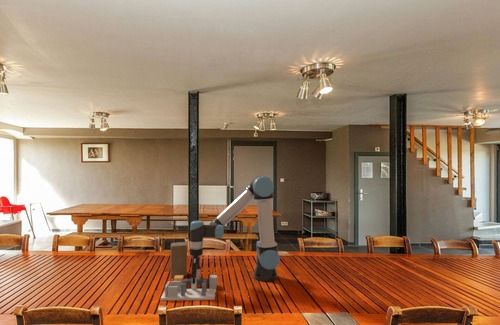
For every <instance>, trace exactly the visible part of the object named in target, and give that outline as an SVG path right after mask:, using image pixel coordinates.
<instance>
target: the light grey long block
mask: <svg viewBox="0 0 500 325" xmlns="http://www.w3.org/2000/svg"><path fill="white" fill-rule="evenodd" d="M207 287H208V286H207V280H203V283H202V285H201V288H196V289H191V288H188V285H187V280H183V284H181V281H174V280H172V281H170V280H169V281H167V282H166V284H165V286H164V291H163V293H162V295H161V297H160V301H206V300H207V301H210V300H211V301H212V300H214V301H215V300H216V294H215V293H217V288H207Z"/></svg>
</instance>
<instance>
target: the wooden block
mask: <svg viewBox="0 0 500 325" xmlns="http://www.w3.org/2000/svg"><path fill="white" fill-rule="evenodd" d="M187 273H188V245H187V242H186V241H181V242H179V241H178V242H172V243H170V277H171V278H174V277H175V275H184V277H186V276H187V275H188V274H187Z"/></svg>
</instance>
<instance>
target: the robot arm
mask: <svg viewBox="0 0 500 325" xmlns="http://www.w3.org/2000/svg"><path fill="white" fill-rule="evenodd" d="M274 188H275V184H274V182H273V180H272V179H271V178H270V177H268V176H266V175H257V176H256V177H254V179H252V181H251V182H250V183H249V184H248V185H247V186H246V187H245V190H244V191H243V192H242V193H241V194H240V195H239V196H238V197H237V198H236V199H235V200H234V201H232V202H231V203H230V204H229V205H228V206H227V207H226V208H225V209H224V210H223V211H221V213H219V215H217V217H215V218H214V219H213V220H212V221H210V222H209V224H205V223H204V221H202V220H193V221H191V222H190V227H189V232H190V233H189V241H190V242H188V245H189V255H190V256H192V263H191V275H190V276H189V279H192V282H191V285H190V286H191V288H190V289H197V285H196V283H197V279H200V271H201V270H200V269H201V268H202V267H201V261H200V260H201V258H200V257H201V256H203V254H204V249H203V247H204V239H220V238H221V239H222V238H224V233H225V232H224V228H225V226H227V224H228V223H230V221H232V220H233V219H234V218H235V217H236V216H237V215H238V214H239V213H241V211H243V210H244V209H245V208H247V206H248V205H249V204H250V203H251V202H252V201H255V202H256V208H257V219H258V221H257V222H258V233H259V240H257V241H256V246H255V247H256V259H255V262H256V263H255V264H256V265H255V269H254V271H253V279H254V280H257V281H259V282H260V281H261V282H272V281H275V280H277V279H278V271H277V267H278V266H279V264H280V261H281V257H280V254H279V249H278V248H279V247H278V246H279V245H278V242H276V241H275V230H274V218H273V206H272V202H273V200H274Z"/></svg>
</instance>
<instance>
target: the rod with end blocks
mask: <svg viewBox="0 0 500 325" xmlns="http://www.w3.org/2000/svg"><path fill="white" fill-rule="evenodd" d="M183 280H187V286H191V282H192V278H185V276H184V275H175V277H173V281H181V284H183ZM203 280H207V285H209V286H208V289H217V286H218V275H217V274H210V275H209V278H199V279H197V283H196V286H198V285H199V286H202V283H203Z"/></svg>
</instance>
